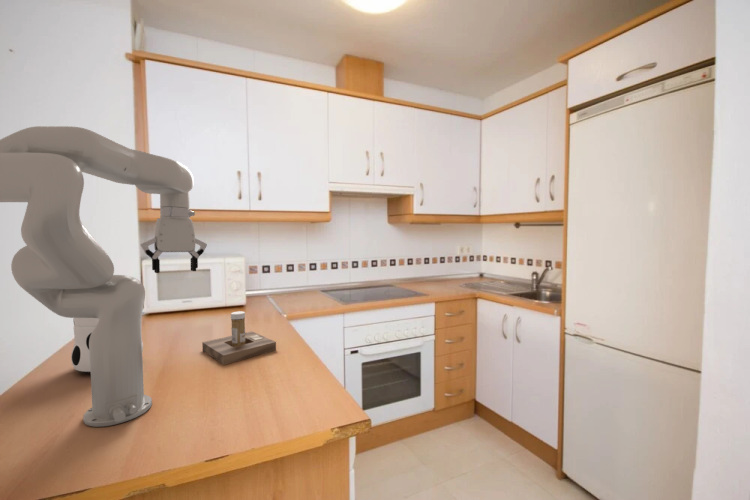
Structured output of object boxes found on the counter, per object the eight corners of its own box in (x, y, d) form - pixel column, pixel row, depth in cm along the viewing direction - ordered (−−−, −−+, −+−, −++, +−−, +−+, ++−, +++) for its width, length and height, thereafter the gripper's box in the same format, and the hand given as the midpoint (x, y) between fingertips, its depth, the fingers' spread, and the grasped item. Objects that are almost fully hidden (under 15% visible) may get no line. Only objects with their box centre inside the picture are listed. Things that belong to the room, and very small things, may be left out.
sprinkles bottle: (247, 351, 118) (246, 312, 117) (233, 353, 116) (232, 314, 115) (244, 347, 122) (243, 310, 121) (230, 350, 120) (229, 312, 119)
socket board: (276, 350, 119) (275, 341, 119) (223, 364, 106) (223, 354, 106) (252, 338, 132) (251, 330, 132) (202, 350, 119) (202, 341, 119)
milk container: (86, 360, 110) (84, 305, 109) (149, 353, 116) (147, 301, 115) (59, 382, 94) (56, 318, 93) (134, 373, 100) (132, 312, 99)
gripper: (202, 216, 110) (202, 269, 111) (137, 213, 99) (138, 272, 99) (210, 215, 105) (210, 270, 105) (143, 211, 93) (143, 274, 93)
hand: (175, 271), depth 102 cm, fingers open, 9 cm apart
